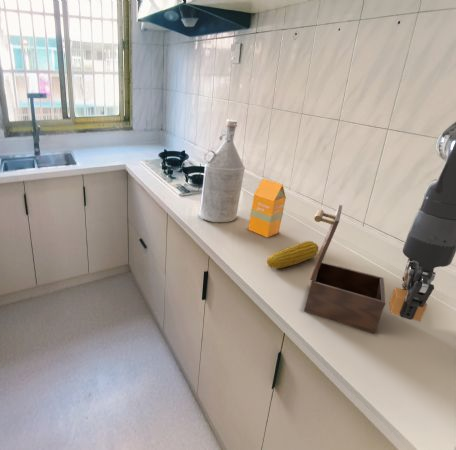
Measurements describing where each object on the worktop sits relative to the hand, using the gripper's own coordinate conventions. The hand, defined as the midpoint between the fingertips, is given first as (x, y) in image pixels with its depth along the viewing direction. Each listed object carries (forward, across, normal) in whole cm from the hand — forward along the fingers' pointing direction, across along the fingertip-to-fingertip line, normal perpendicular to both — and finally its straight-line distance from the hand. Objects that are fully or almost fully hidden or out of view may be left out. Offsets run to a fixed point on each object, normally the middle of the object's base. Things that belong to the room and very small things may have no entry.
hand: (404, 310), depth 69 cm
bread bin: (+11, +12, +10) cm, 20 cm away
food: (+11, +30, +25) cm, 41 cm away
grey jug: (+11, +53, +60) cm, 80 cm away
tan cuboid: (0, 0, 0) cm, 0 cm away
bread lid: (-6, +12, +17) cm, 21 cm away
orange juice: (+11, +50, +39) cm, 65 cm away
